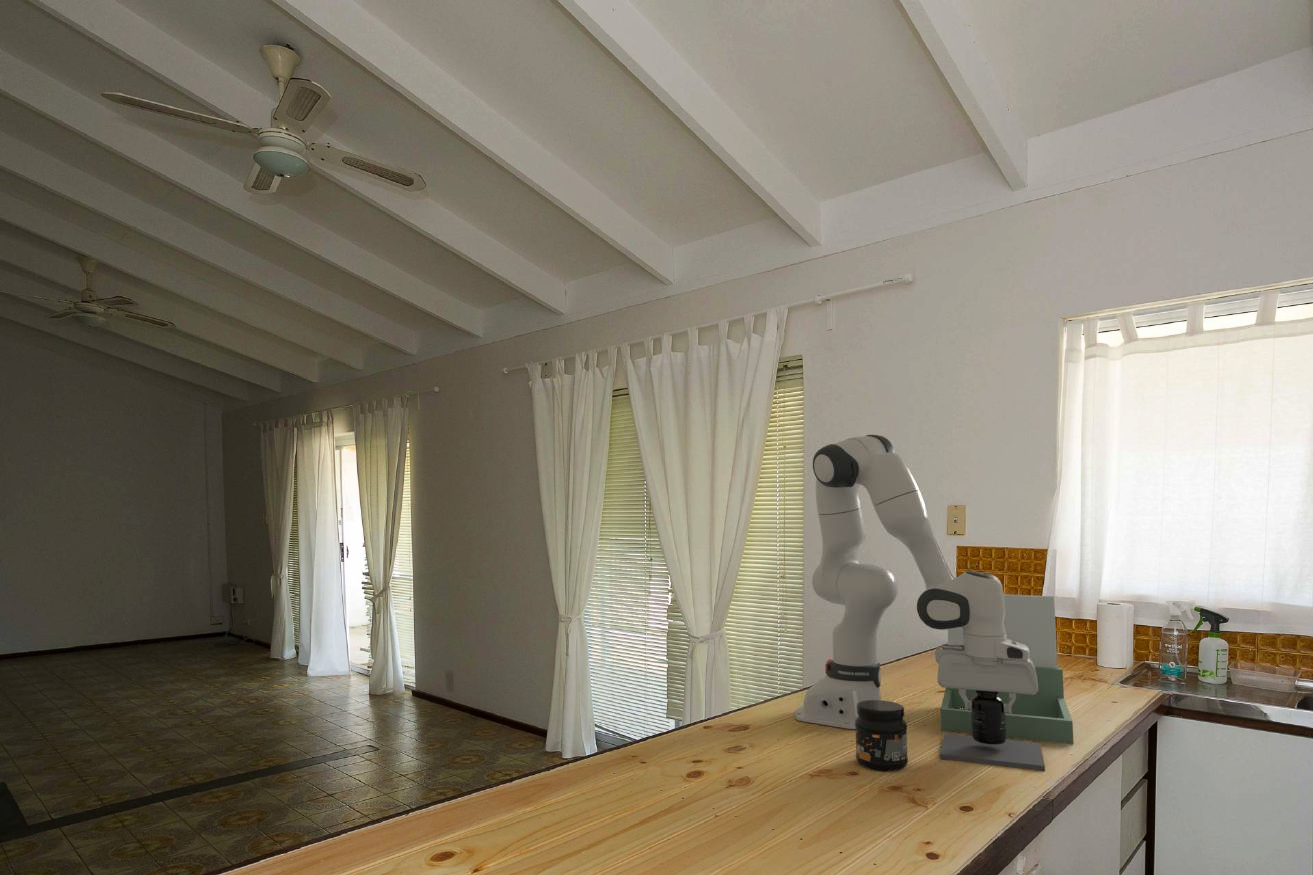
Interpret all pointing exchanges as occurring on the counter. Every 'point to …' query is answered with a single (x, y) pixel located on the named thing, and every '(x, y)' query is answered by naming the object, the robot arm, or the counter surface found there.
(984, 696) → the supplement bottle
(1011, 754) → the mat
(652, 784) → the counter surface
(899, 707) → the supplement container
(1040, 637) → the cold frame
